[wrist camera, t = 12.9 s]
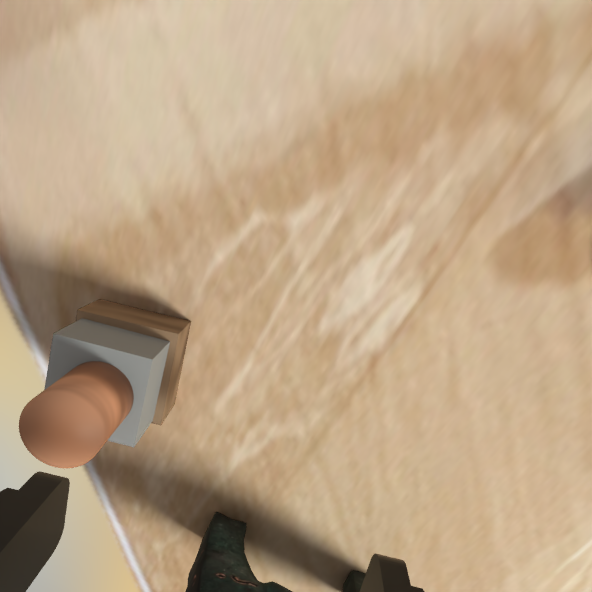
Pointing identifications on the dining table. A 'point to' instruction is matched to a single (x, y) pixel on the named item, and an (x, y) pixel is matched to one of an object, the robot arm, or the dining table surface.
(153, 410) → the tower top
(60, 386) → the tan cylinder
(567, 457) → the dining table surface
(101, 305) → the tower base
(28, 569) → the robot arm
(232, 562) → the ceramic cat
